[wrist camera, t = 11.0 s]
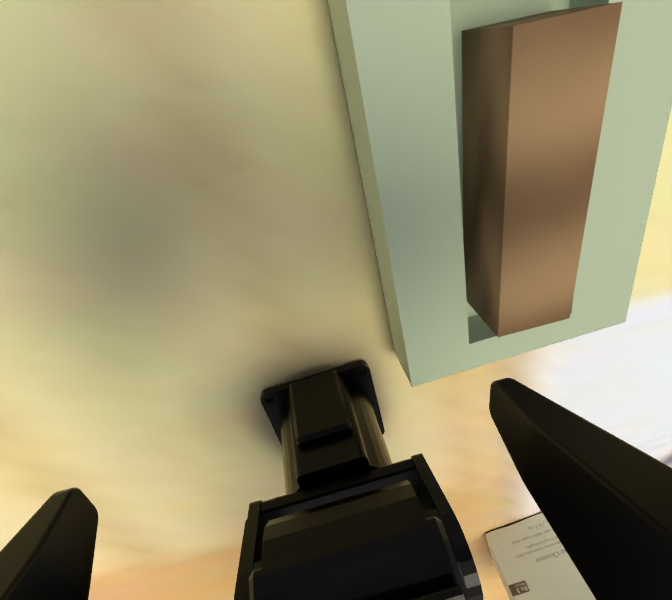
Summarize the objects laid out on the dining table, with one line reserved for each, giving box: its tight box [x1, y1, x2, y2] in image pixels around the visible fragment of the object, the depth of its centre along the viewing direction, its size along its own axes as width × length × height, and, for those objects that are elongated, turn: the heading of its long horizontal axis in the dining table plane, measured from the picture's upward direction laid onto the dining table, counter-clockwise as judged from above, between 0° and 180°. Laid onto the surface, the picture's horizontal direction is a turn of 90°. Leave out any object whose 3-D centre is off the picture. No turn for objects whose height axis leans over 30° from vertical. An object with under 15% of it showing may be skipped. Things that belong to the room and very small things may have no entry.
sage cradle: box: [328, 0, 672, 387], centre depth 18 cm, size 18×12×3 cm, turn 13°
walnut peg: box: [462, 2, 623, 337], centre depth 17 cm, size 12×4×4 cm, turn 10°
